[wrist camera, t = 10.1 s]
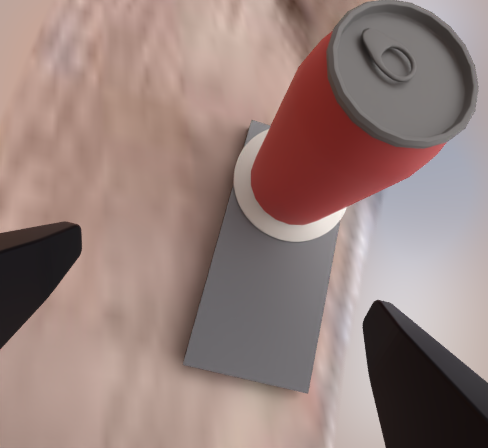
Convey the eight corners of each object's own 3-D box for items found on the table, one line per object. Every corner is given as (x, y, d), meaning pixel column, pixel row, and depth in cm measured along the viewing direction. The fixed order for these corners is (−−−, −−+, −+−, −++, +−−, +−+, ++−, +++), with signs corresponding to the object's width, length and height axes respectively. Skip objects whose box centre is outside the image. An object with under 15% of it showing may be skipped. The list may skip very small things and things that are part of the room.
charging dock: (304, 387, 20) (313, 396, 18) (180, 358, 19) (178, 365, 18) (348, 154, 24) (358, 146, 23) (247, 121, 23) (251, 111, 22)
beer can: (290, 126, 22) (395, -46, 10) (350, 186, 22) (525, 82, 10) (230, 179, 20) (271, 49, 9) (293, 245, 20) (424, 203, 9)
